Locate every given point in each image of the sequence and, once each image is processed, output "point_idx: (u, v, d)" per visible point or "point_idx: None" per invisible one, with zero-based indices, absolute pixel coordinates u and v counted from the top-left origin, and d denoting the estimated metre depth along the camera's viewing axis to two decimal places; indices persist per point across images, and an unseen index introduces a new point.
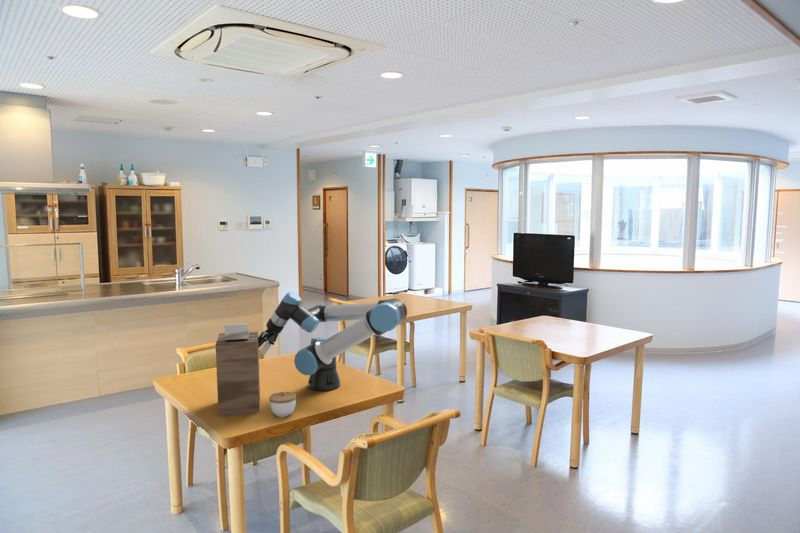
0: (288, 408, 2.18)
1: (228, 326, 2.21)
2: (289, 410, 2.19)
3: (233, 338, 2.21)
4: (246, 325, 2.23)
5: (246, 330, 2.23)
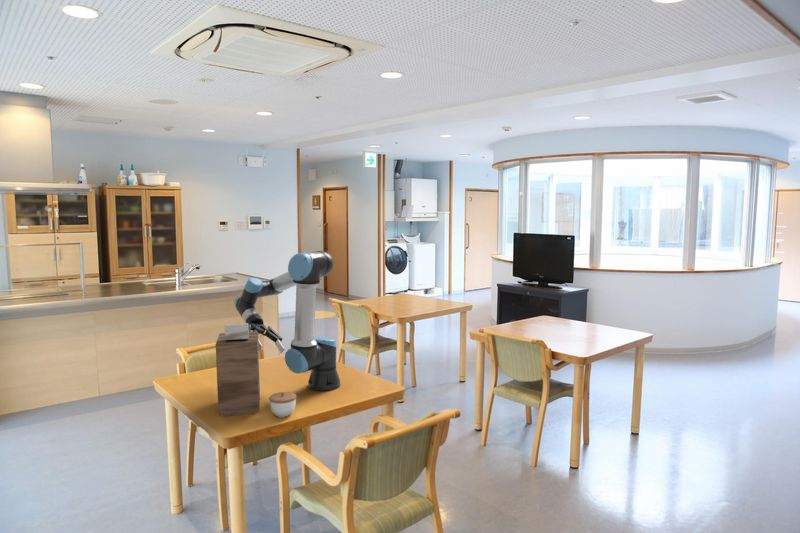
0: (288, 408, 2.18)
1: (228, 326, 2.21)
2: (289, 410, 2.19)
3: (233, 338, 2.21)
4: (246, 325, 2.23)
5: (246, 330, 2.23)
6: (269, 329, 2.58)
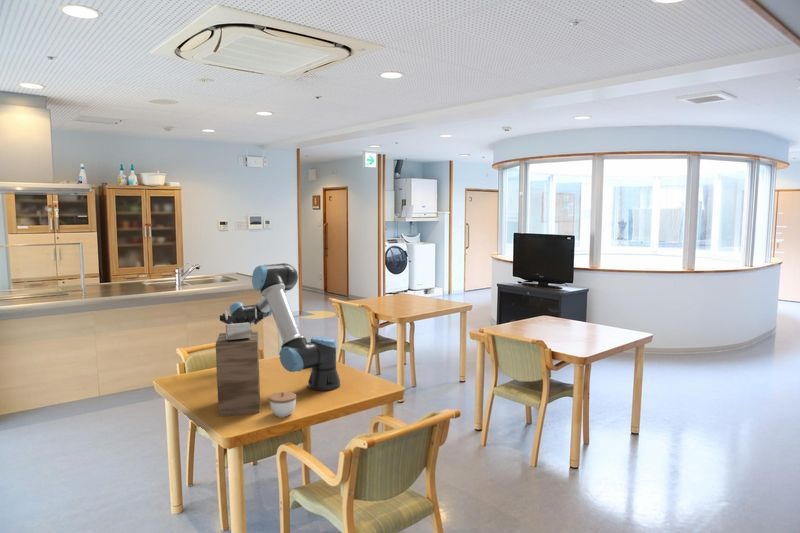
0: (288, 408, 2.18)
1: (231, 326, 2.21)
2: (289, 410, 2.19)
3: (236, 338, 2.22)
4: (248, 324, 2.24)
5: (249, 329, 2.24)
6: (254, 319, 2.71)
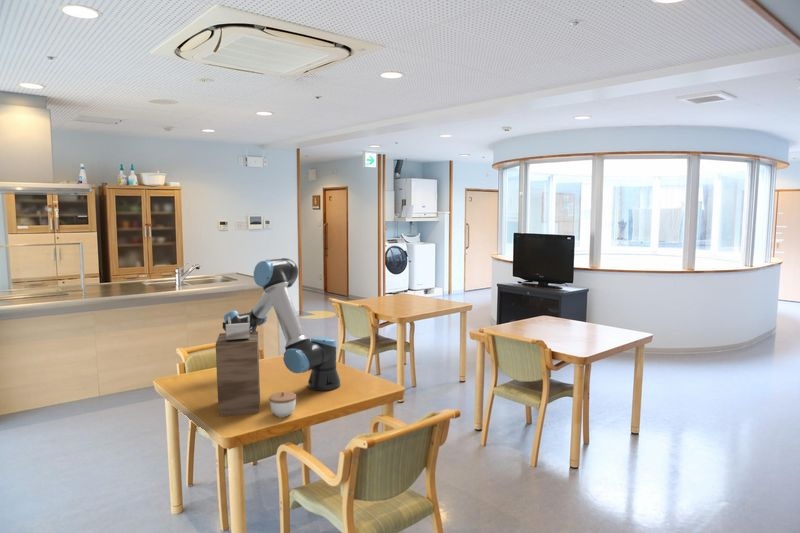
0: (288, 408, 2.18)
1: (230, 326, 2.21)
2: (289, 410, 2.19)
3: (235, 338, 2.22)
4: (247, 325, 2.24)
5: (248, 329, 2.24)
6: (252, 327, 2.55)
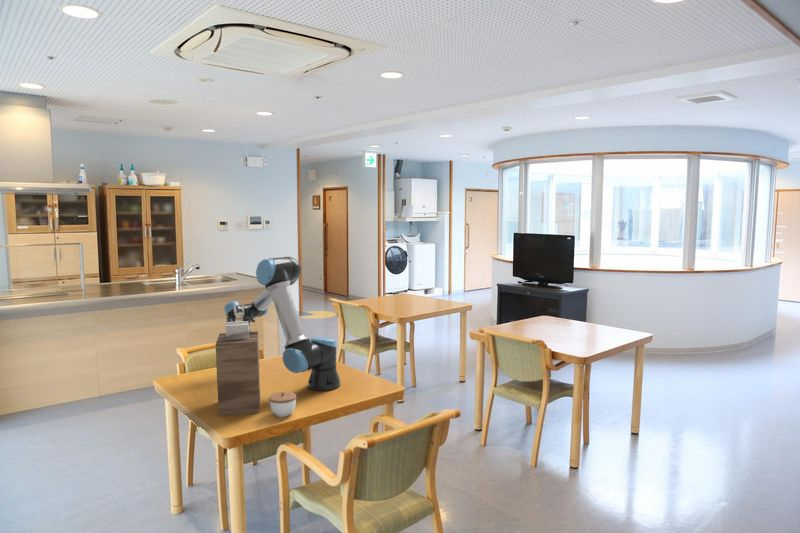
0: (288, 408, 2.18)
1: (229, 327, 2.23)
2: (289, 410, 2.19)
3: (234, 338, 2.25)
4: (246, 326, 2.25)
5: (247, 330, 2.25)
6: None
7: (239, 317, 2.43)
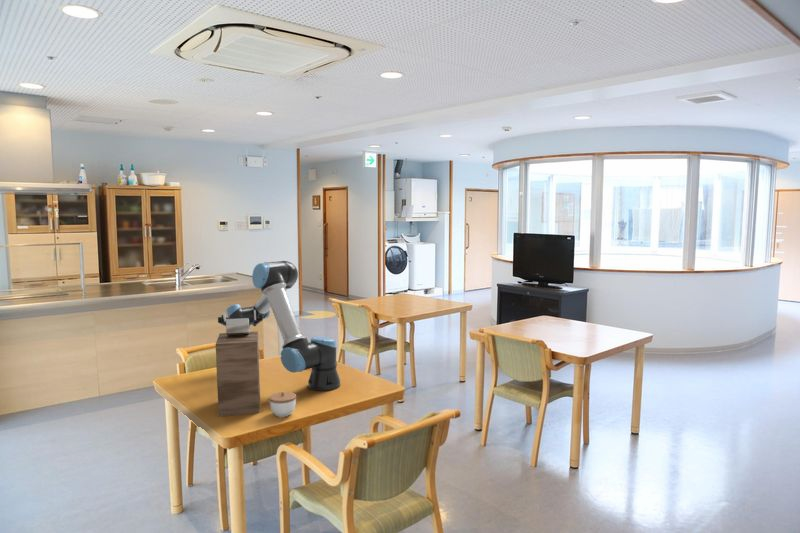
0: (288, 408, 2.18)
1: (229, 320, 2.28)
2: (289, 410, 2.19)
3: (234, 332, 2.28)
4: (246, 319, 2.30)
5: (247, 324, 2.30)
6: None
7: None
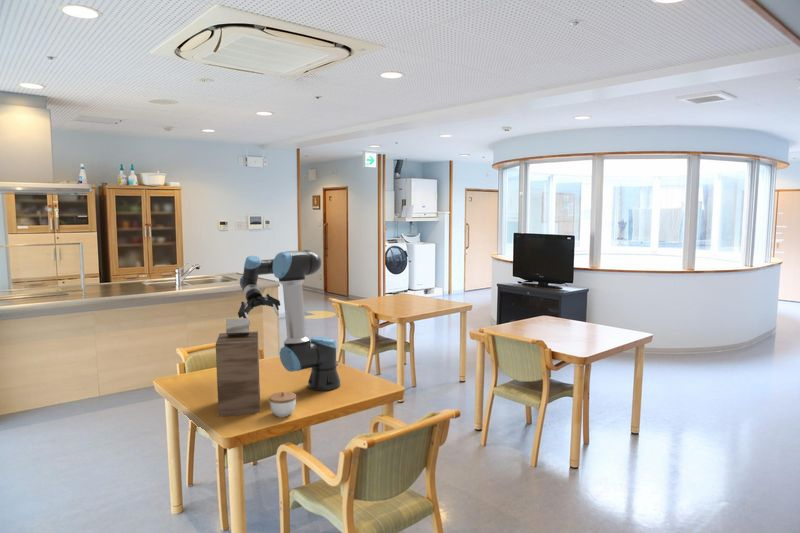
0: (288, 408, 2.18)
1: (229, 320, 2.28)
2: (289, 410, 2.19)
3: (234, 331, 2.28)
4: (246, 319, 2.30)
5: (247, 324, 2.30)
6: (267, 297, 2.69)
7: None
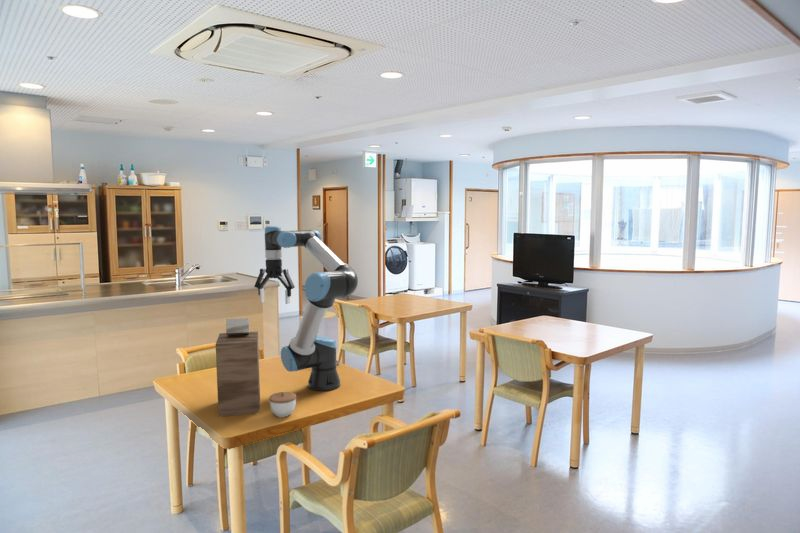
0: (288, 408, 2.18)
1: (229, 320, 2.28)
2: (289, 410, 2.19)
3: (234, 331, 2.28)
4: (246, 319, 2.30)
5: (247, 324, 2.30)
6: None
7: None
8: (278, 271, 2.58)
